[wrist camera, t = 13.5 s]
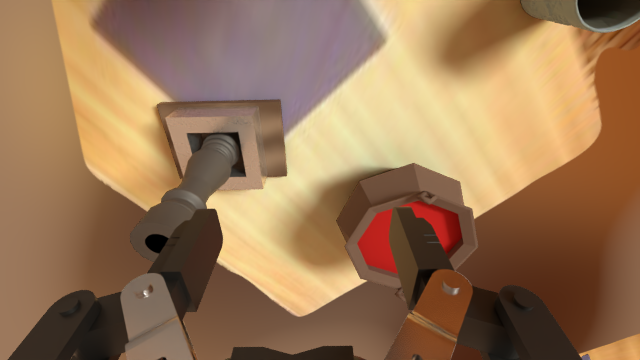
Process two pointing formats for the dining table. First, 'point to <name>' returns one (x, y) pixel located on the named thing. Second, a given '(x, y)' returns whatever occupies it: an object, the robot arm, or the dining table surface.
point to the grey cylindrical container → (586, 13)
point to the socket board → (269, 127)
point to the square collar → (240, 119)
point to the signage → (586, 357)
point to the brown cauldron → (427, 202)
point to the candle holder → (187, 193)
